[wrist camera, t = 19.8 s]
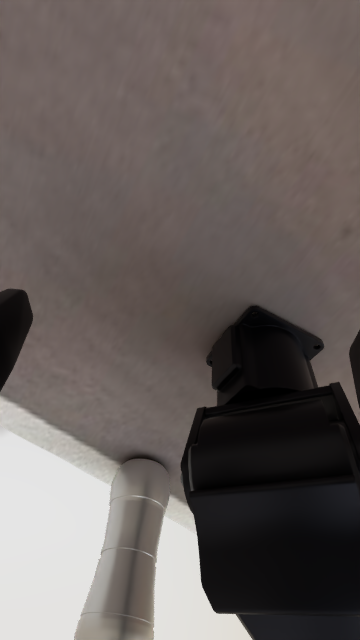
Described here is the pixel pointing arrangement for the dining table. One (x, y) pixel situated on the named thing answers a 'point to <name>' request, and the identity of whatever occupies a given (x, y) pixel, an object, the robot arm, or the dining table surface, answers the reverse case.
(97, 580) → the metal bottle
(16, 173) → the dining table surface
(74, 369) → the dining table surface
